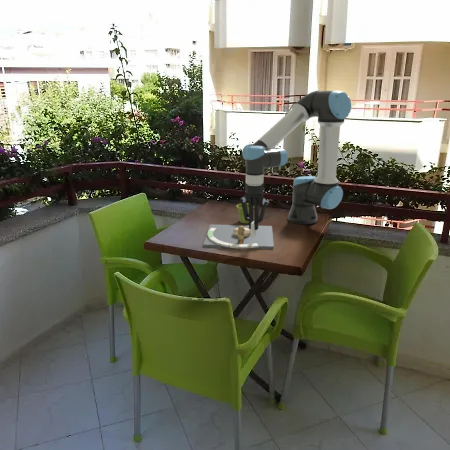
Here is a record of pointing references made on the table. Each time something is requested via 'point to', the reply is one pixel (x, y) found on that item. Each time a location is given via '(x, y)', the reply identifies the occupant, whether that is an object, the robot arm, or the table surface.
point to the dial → (241, 233)
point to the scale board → (226, 239)
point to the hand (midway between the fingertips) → (253, 236)
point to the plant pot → (241, 214)
